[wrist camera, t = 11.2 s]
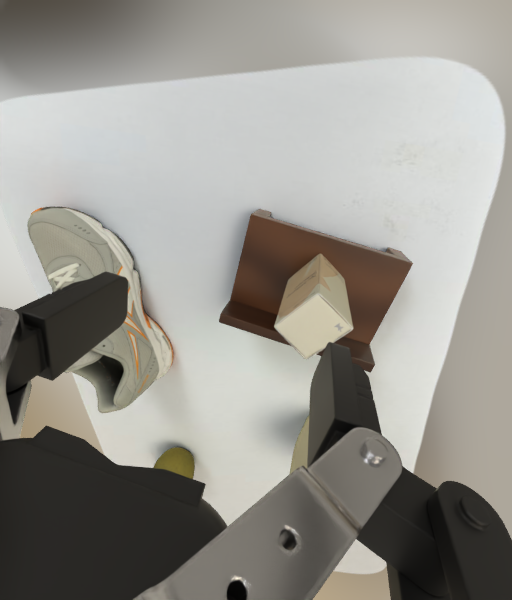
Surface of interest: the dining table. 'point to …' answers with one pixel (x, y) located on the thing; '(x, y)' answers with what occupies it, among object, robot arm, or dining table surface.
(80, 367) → the running shoe
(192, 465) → the apple
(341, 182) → the dining table surface
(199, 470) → the dining table surface
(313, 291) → the box
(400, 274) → the shelf
